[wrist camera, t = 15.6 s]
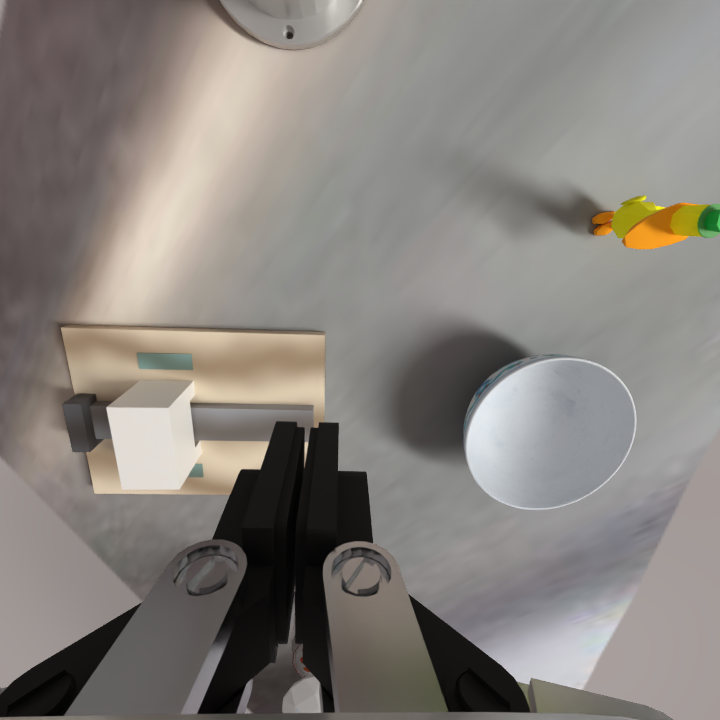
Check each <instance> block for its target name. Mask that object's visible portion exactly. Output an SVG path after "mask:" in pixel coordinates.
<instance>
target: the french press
mask: <svg viewBox="0 0 720 720" xmlns="http://www.w3.org/2000/svg"><path fill="white" fill-rule="evenodd" d="M294 591H295V590H294ZM292 651H293V665H294V668H295V670H296V672H297V673H298V674H300V675H301V676H302V677H303V679H301V680H299V681H297V682H295V683H294V684H293V685H292V686H291V688H290V689H289V690H288V692H287V693H286V694H285V696H284V698H283V706H282V712H283V713H321V708H320V697H319V683H320V682H319V681H318V680H317V679H316V678H315V677H314V675H313V674H312V673H311V672H310V671H309V670H308V669H307V668H306V666H305V665H304V664H303V663H302V661H303V644H295V618H294V626H293V634H292Z"/></svg>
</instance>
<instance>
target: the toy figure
mask: <svg viewBox="0 0 720 720" xmlns="http://www.w3.org/2000/svg"><path fill="white" fill-rule="evenodd" d="M645 199H646V196H637V197H635V198H632V199H629V200H627V201H625V202H623V203H621V204H622V205H623V206H622V207H621V208H620V209H619V210H617V211H616V212H615V211H612V212H604V213H600V214H598V215H596V216H595V217H594V218H592V222H593V224H601V225H599V226H598V227H597V228H596V229H594V235H606V234H608V233H610V232H611V231H612V230H614V232H615V233H616V235H617V236H618V238H623V240H622V242H623V244H624V245H625V246H626V247H629V248H635V249H653V248H658V247H662V246H666V245H670V244H673V243H676V242H679V241H682V240H685V239H686V238H687V237H688V236H700V237H706V238H712V237H715V236H717V235H718V234H719V233H720V204H712V205H698V204H690V203H679V204H675V205H673V206H670V207H667V208H665V207H659V206H655V204H654V203H653V202H641V201H643V200H645ZM612 218H613V219H612ZM611 219H612V222H609V223H607V222H608V221H610V220H611Z"/></svg>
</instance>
